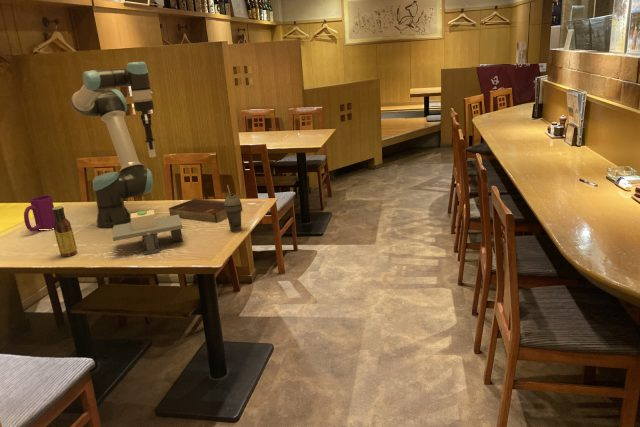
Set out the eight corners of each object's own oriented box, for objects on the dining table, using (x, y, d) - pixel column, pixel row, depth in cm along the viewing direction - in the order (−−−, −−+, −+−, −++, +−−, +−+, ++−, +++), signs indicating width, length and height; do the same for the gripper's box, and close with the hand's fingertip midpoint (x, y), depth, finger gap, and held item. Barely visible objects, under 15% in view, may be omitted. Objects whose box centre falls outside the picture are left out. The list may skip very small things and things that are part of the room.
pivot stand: (144, 255, 197) (140, 238, 195) (142, 238, 217) (139, 222, 215) (184, 247, 202) (182, 231, 200) (179, 231, 222) (177, 216, 220)
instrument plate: (113, 243, 195) (109, 223, 193) (114, 230, 210) (110, 212, 207) (183, 230, 203) (179, 211, 200) (179, 219, 218) (176, 201, 215)
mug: (63, 225, 244) (56, 195, 240) (37, 236, 230) (29, 205, 226) (48, 224, 247) (40, 195, 242) (21, 236, 233) (13, 204, 228)
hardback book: (242, 211, 246) (241, 201, 244) (216, 223, 230) (215, 213, 229) (197, 206, 260) (196, 197, 258) (170, 218, 244) (168, 208, 243)
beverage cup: (241, 233, 214) (235, 186, 208) (224, 233, 216) (218, 187, 210) (246, 227, 221) (241, 182, 215) (231, 227, 222) (225, 182, 216)
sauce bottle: (64, 252, 207) (53, 205, 201) (80, 250, 208) (69, 204, 202) (57, 258, 201) (46, 210, 195) (74, 257, 201) (62, 208, 195)
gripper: (153, 100, 207) (162, 157, 214) (151, 98, 219) (160, 153, 226) (133, 102, 205) (144, 160, 212) (133, 100, 216) (143, 155, 223)
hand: (152, 156), depth 219 cm, fingers closed
